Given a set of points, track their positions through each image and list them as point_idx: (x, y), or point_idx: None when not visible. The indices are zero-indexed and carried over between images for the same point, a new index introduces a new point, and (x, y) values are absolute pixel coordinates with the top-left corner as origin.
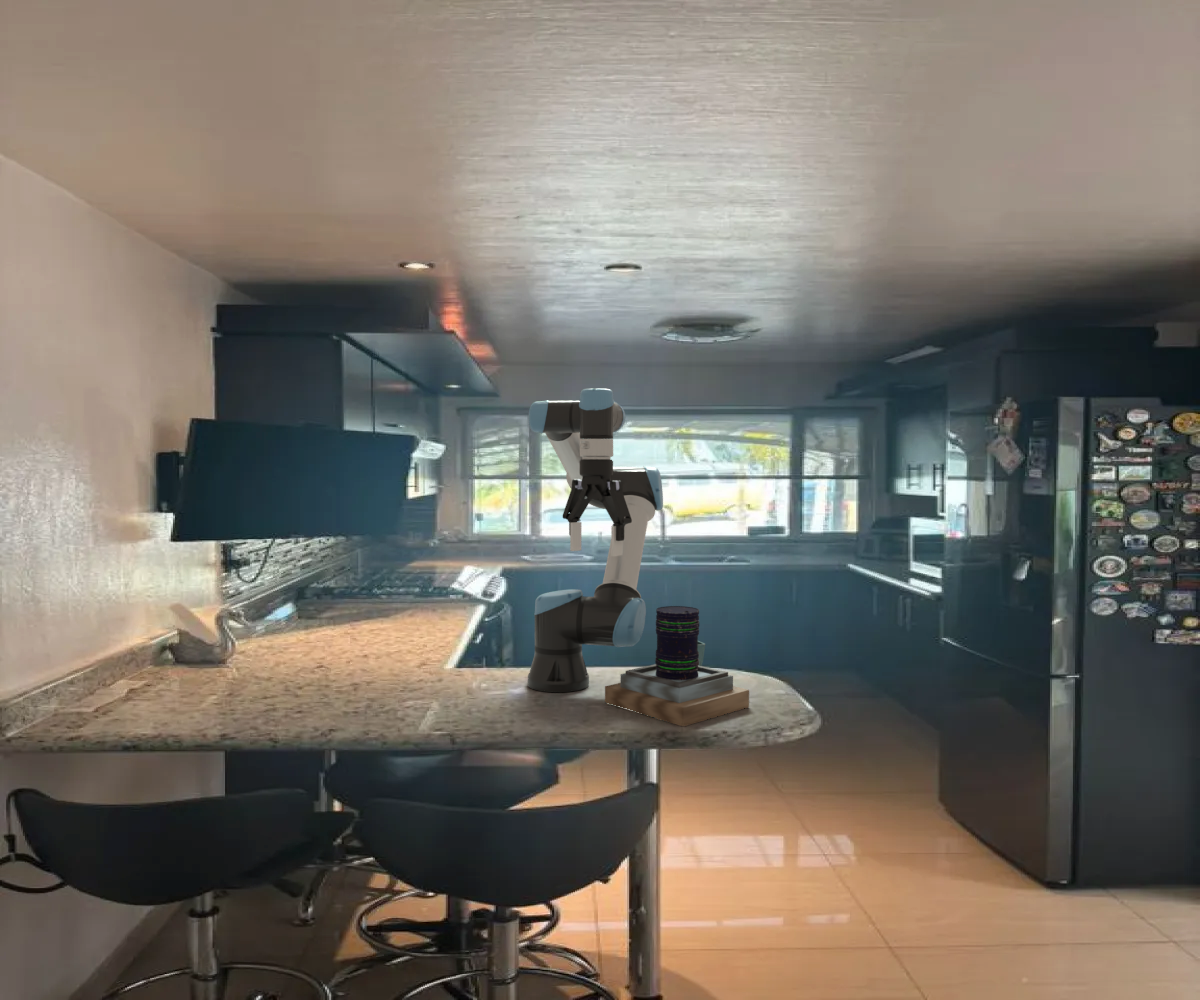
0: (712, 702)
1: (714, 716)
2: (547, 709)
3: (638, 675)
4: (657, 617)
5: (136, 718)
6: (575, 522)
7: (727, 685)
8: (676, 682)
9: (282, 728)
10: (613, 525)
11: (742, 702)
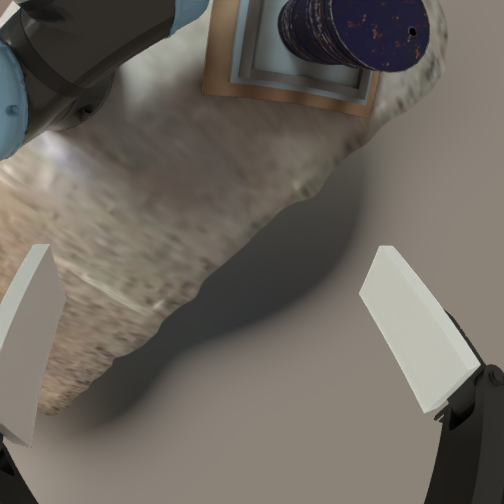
0: None
1: None
2: (161, 174)
3: (273, 81)
4: (345, 56)
5: None
6: (8, 432)
7: None
8: (356, 92)
9: (79, 362)
10: (439, 415)
11: None
